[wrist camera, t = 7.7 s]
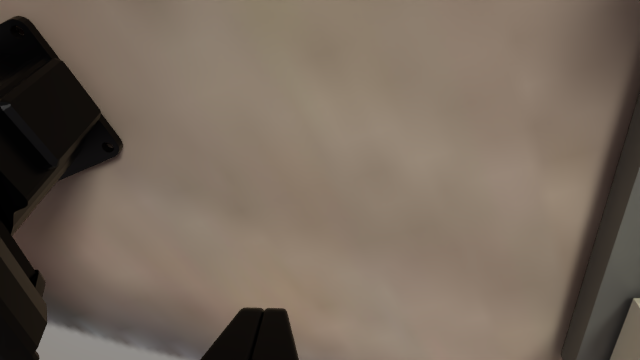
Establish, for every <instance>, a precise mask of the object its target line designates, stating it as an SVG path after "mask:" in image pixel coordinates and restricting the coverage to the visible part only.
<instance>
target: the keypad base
mask: <svg viewBox="0 0 640 360" xmlns="http://www.w3.org/2000/svg"><path fill="white" fill-rule="evenodd" d="M633 298H640V93H639V96H638V100H637V103H636V106H635V110H634V113H633V116H632V120H631V123H630V126H629V130H628V133H627V136H626V140H625V143H624V146H623V150H622V153H621V156H620V160H619V163H618V166H617V170H616V173H615V176H614V180H613V183H612V186H611V190H610V193H609V196H608V200H607V203H606V206H605V210H604V213H603V216H602V220H601V223H600V226H599V230H598V233H597V236H596V240H595V243H594V246H593V250H592V253H591V256H590V260H589V263H588V266H587V270H586V273H585V276H584V280H583V283H582V286H581V290H580V293H579V296H578V300H577V303H576V306H575V310H574V313H573V316H572V320H571V323H570V326H569V330H568V333H567V336H566V340H565V343H564V346H563V350H562V353H561V356H562V358H563V360H610V358H611V355H612V353H613V350H614V348H615V345H616V342H617V340H618V337H619V335H620V332H621V329H622V327H623V324H624V322H625V319H626V316H627V314H628V311H629V309H630V306H631V303H632V301H633Z"/></svg>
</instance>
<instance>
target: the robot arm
mask: <svg viewBox="0 0 640 360" xmlns="http://www.w3.org/2000/svg"><path fill="white" fill-rule="evenodd" d="M16 26H19V27H20V28H21V29H22V30H23V32H24V35H21V34H20V33H19V32H18V31H17V29H16ZM105 142H108V143H110V144H112V145H113V147H114V148H111V147H109V146H107V145H106V143H105ZM122 147H123V144H122V141H121V139H120V138H119V136H118V135H117V134H116V132H115V131H114V130H113V128H112V127H111V126H110V124H109V123H108V122H107V120H106V119H105V118H104V117H103V115H102V114H101V111H100V109H99V108H98V107H97V105H96V104H95V103H94V101H93V100H92V99H91V97H90V96H89V95H88V93H87V92H86V91H85V89H84V88H83V87H82V86H81V84H80V83H79V82H78V80H77V79H76V78H75V76H74V75H73V74H72V72H71V71H70V70H69V68H68V67H67V66H66V65H65V63H64V62H63V61H61V60H60V59H59V58H58V56H57V55H56V54H55V52H54V51H53V50H52V48H51V47H50V46H49V44H48V43H47V42H46V41H45V39H44V38H43V37H42V35H41V34H40V33H39V31H38V30H37V29H36V27H35V26H34V25H33V24H32V23H31V22H30V21H29V20H28V19H27V18H25V17H22V16H16V17H13V18H11V19H9V20H7V21H5V22H4V23H2V24H0V360H39V355H38V353H37V352H36V349H37V348H38V345H39V343H40V340H41V338H42V335H43V332H44V330H45V327H46V325H47V306H46V303H45V302H44V300H43V299H42V297H43V292H44V287H45V280H44V278H43V277H42V275H41V274H40V272H39V271H38V270H34V269H33V267H32V266H31V264H30V263H29V261H28V260H27V258H26V257H25V255H24V254H23V252H22V251H21V249H20V248H19V246H18V245H17V243H16V242H15V240H14V239H13V237H12V236H13V234H14V233H15V232H16V231H17V229H18V228H19V227H20V226H21V225H22V223H23V222H24V221H25V220H26V219H27V217H28V216H29V215H30V214H31V212H32V211H33V210H34V209H35V208H36V206H37V205H38V204H39V203H40V202H41V200H42V199H43V198H44V197H45V195H46V194H47V193H48V192H49V191H50V189H51V188H52V187H53V186H54V184H55V183H56V182H57V181H59V180H61V179H63V178H66V177H68V176H70V175H73V174H75V173H77V172H80V171H82V170H84V169H87V168H89V167H91V166H94V165H96V164H98V163H101V162H103V161H106V160H108V159H110V158H113V157H115V156H116V155H118V154H119V152H120V151H121V149H122ZM201 360H299V358H298V354H297V350H296V346H295V342H294V338H293V334H292V330H291V326H290V322H289V318H288V314H287V311H286V310H285V309H282V308H267V309H265V311H264V310H263V309H262V308H243V309H241V310H240V311H239V312H238V313H237V315H236V316H235V317H234V318H233V320H232V321H231V322H230V323H229V325H228V326H227V327H226V328H225V330H224V331H223V332H222V333H221V335H220V336H219V337H218V338H217V340H216V341H215V342H214V343H213V345H212V346H211V347H210V348H209V350H208V351H207V352H206V353H205V355H204V356H203V357H202V358H201Z"/></svg>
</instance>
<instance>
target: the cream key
mask: <svg viewBox="0 0 640 360" xmlns="http://www.w3.org/2000/svg"><path fill="white" fill-rule="evenodd" d="M610 360H640V298H633V301H632V303H631V306H630V309H629V311H628V314H627V316H626V319H625V322H624V324H623V327H622V329H621V332H620V335H619V337H618V340H617V342H616V345H615V348H614V350H613V353H612V355H611V358H610Z"/></svg>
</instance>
